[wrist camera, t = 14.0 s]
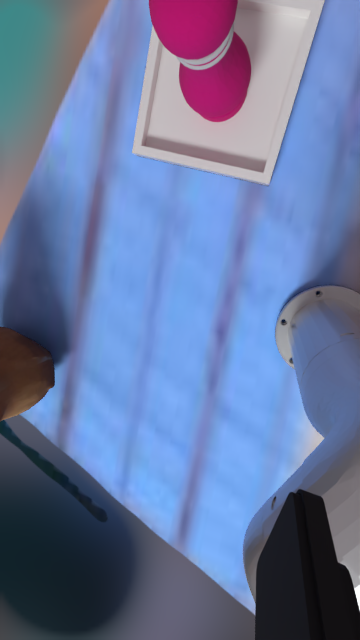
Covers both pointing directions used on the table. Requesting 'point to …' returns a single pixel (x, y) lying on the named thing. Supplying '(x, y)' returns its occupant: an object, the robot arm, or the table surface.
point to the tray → (259, 106)
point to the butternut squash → (22, 373)
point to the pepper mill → (205, 53)
